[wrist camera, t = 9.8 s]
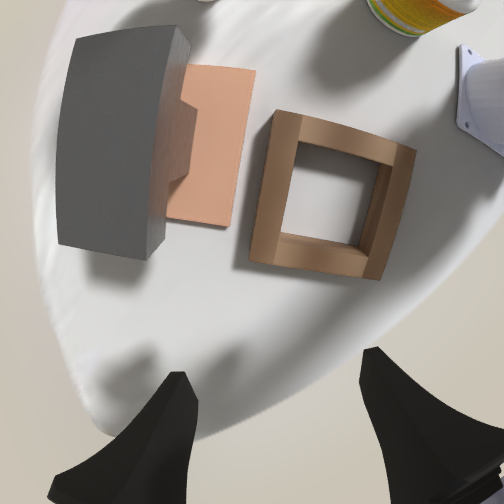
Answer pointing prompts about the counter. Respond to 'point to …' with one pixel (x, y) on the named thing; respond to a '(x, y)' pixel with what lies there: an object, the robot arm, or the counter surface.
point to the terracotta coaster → (213, 143)
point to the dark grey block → (122, 139)
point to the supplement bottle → (419, 14)
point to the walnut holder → (379, 214)
